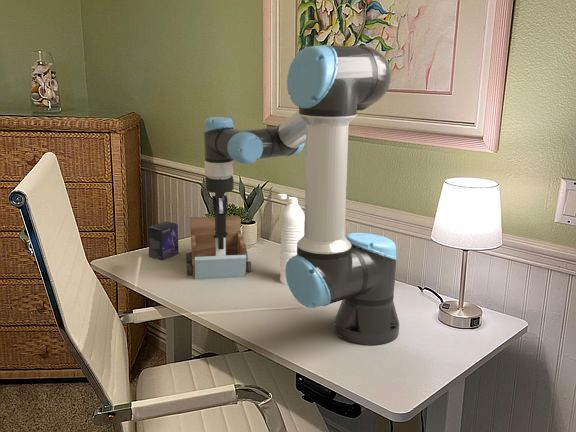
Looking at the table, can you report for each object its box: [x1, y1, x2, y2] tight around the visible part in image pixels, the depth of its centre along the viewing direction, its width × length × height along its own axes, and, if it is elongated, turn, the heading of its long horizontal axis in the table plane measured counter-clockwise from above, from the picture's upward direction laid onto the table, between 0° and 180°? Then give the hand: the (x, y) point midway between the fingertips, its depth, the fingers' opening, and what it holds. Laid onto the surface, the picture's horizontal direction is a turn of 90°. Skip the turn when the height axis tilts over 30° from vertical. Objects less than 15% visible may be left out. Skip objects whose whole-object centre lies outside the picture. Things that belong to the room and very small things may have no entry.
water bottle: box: [277, 193, 305, 286], centre depth 171 cm, size 9×6×25 cm
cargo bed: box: [185, 215, 252, 278], centre depth 184 cm, size 19×18×13 cm
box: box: [147, 221, 180, 261], centre depth 192 cm, size 8×6×11 cm
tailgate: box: [193, 255, 247, 280], centre depth 173 cm, size 1×14×9 cm
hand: (220, 258), depth 172 cm, fingers closed
